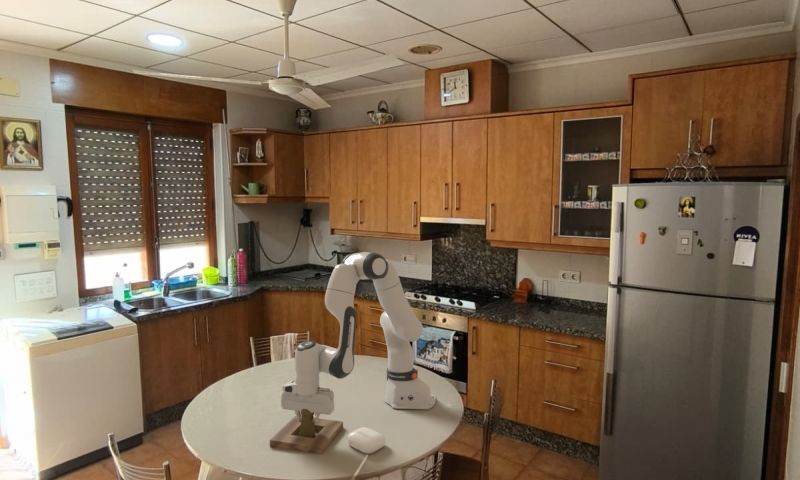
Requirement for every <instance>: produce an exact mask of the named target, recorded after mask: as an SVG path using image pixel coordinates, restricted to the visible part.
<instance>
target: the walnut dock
mask: <svg viewBox="0 0 800 480" xmlns="http://www.w3.org/2000/svg"><path fill="white" fill-rule="evenodd" d="M300 426H301V422H298V417H297V416H296V415H294V417H293V418H291V420H289V422H287V423H286V424H285V425H284V426H283V427H282V428H281V429H280V430H279V431H277V432H276V434H274V435H273V436H272V437H271V438H270V439H269V447H270V448H276V449H284V450H289V451H290V450H291V451H297V452H303V453H310V454H317V455H323V453H324V452H325V451H326V450H327V449H328V447H329V446H330V445H331V443H332V442H333V441H334V440H335V438H336V437H337V436H338V435H339V434H340V432H341V431H342V430H343V429H344V421H341V420H340V421H339V420H334V419H326V418H320V417H319V418H318V423H317V424H314V426H315V432H318V433H317V434H315V436H314V437H313V438H309V437H302V436H299V432H300Z"/></svg>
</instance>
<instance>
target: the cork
mask: <svg viewBox="0 0 800 480" xmlns="http://www.w3.org/2000/svg"><path fill="white" fill-rule="evenodd" d="M300 413H301V415H302V419H301V426H300V432H299V433H298V436H302V437H309V438H315V437H316V431H315V426H314V424H313V423H312V422H313V421H312V420H313V419H314V418H315V417H314V416H315V413H311V412H310V411H309V410H308V409H302V410H301V411H300Z"/></svg>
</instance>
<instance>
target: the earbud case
mask: <svg viewBox="0 0 800 480" xmlns="http://www.w3.org/2000/svg"><path fill="white" fill-rule="evenodd" d="M346 437H347V439H346V441H347V444H348V445H349V446H350V447H352V448H353V449H356V450H358V451H359V452H360V453H361V452H362V453H364V454H367V455H368V454H369V455H370V454H373V453H375V452H376V451H377V452H378V451H379V450H380V449H382V448H383V447H384V446H385V444H386V438H385V436H384V435H383V434H382V433H381V432H378V431H376V430H374V429H372V428H369V427H367V426H365V427H364V426H362V427H359V428H357V429H355V430H353V431H351V432H349V434H348V435H347V436H346Z"/></svg>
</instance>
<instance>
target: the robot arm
mask: <svg viewBox="0 0 800 480" xmlns="http://www.w3.org/2000/svg"><path fill="white" fill-rule="evenodd" d="M360 280H363V281H364V280H372V282H373V283H372V284H373V286H374V289H375V292H376V295H377V298H378V301H379V304H380V306H381V308H382V309H383V310H384V311H382V313H381V315H380V318H379V324H380V326H381V328H382V331H383V335H384V338H385V343H386V348H387V367H386V381H387V383H386V389H385V391H386V392H385V394H384V400H383V401H384V402H385V403H386V404H388V405H390V406H391V408H393V409H399V410H400V409H402V410H404V409H405V410H430V409H432V408H433V407H434V405H436V402H437V401H436V398H437V397H436V396H435V395H434V394H431V389H430V385H429V384H428V383H426V382H425V381H424V380H422V379H421V378H420V377H419V375H418V374H419V369H418V368H416V369H415V367H414V349H413V347H412V345H411V343H412V342H414V343H415V342H416V341H418V340H419V339H420V338H421V337H422V335H423V331H424V327H423V324H422V322H421V321H420V320H419V319H418V317H417V316H416V314H415V312H414V311H413V309H412V307H411V305H410V303H409V301H408V299H407V297H406V294H405V292H404V288H403V285H402V282H401V279H400V277H399V274H398V272H397V269H396V268H395V266H394V264H393V262H392V261H391V260H389V259H386V258H385V257H384V256H383V255H381V254H380V253H377V252H368V251H362V252H352V253H351V252H350V253H349V254H347V255H345V256H344V258H343V260H342V262H341V263H339V264H336V266H335V267H334V268H333V270H332V272H331V275H330V278H329V280H328V284H327V287H326V290H325V294H324V305H325V307H326V309H327V311H328V312H329V313H330V314H331V315H333V316H334V317H335V319H337V321H338V323H339V327H340V328H339V329H340V331H339V337H338V338H339V341H338V347H337V348H335V347H332V346H329V345H325V344H320V343H317V342H316V341H314V340H306V341H303V342H300V343H299V344H298V345H297V346H296V347H295V348H296V349H295V352H294V370H295V377H294V379H291V380H290V381H288V382H286V383H284V385H283V386H282V393H281V399H280V407H281V408H282V409H283V410H287V411H294V414H295V416H297V417H298V422H301V419H302V415H301V410H302V409H308V410H309V411H310V412H311V413H314V416H315V417H314V419H313V420H312V421H313V422H312V423H313V424H317V423H318V418H319V419H320V416H321V415H328V416H330V415H332V413H334V411H335V408H336V407H335V401H334V400H335V399H334V398H335V397H334V396H335V394H334V391H333V390H332V389H330V388H328V387H327V388H325V387H320V373H325V374H328V375H330V376H332V377H334V378H336V379H338V380H343V379H344V378H346V377H348V376H349V375H350V374H351V373H352V372H353V370H354V367H355V353H354V352H355V343H356V342H355V341H356V331H357V311H356V309H355V307H354V306H355V305H354V297H355V294H356V289H357V284H358V283H359V281H360ZM410 342H411V343H410Z"/></svg>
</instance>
